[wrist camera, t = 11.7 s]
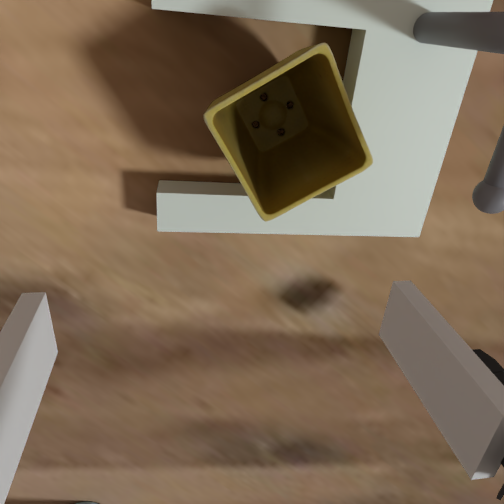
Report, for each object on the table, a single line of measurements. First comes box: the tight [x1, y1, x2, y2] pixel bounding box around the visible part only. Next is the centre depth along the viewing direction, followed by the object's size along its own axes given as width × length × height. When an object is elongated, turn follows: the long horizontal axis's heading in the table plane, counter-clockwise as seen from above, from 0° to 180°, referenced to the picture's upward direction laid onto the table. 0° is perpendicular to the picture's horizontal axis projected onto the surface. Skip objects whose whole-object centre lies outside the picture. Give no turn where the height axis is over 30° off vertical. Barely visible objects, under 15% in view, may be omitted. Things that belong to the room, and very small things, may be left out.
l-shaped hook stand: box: [152, 0, 504, 237], centre depth 28 cm, size 24×20×17 cm
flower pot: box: [203, 43, 373, 222], centre depth 31 cm, size 9×9×9 cm
